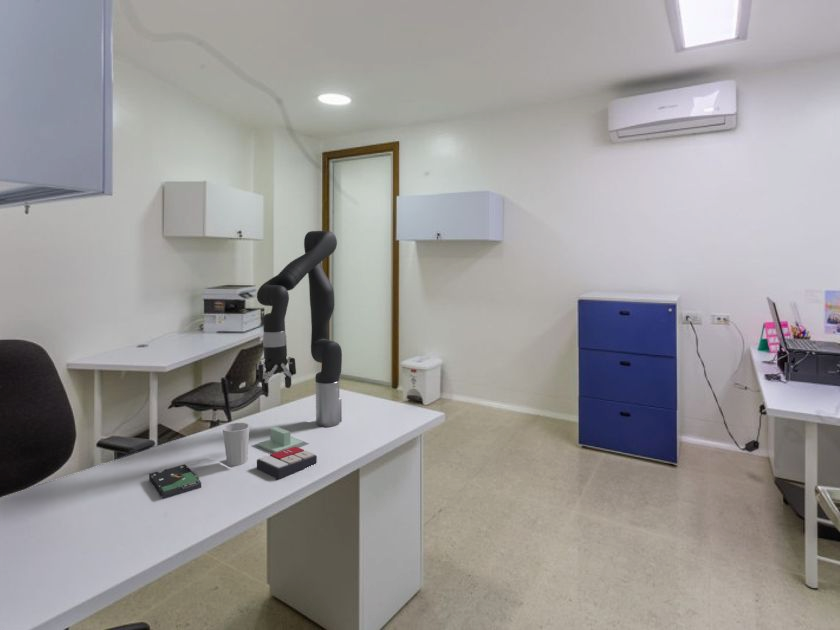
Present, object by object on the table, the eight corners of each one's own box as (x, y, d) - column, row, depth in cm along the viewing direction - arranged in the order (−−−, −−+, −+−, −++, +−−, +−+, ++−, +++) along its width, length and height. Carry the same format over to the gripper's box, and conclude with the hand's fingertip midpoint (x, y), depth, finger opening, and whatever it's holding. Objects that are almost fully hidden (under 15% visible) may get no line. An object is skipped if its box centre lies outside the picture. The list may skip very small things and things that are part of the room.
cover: (284, 436, 176) (283, 422, 175) (303, 443, 169) (302, 429, 169) (257, 445, 167) (256, 430, 167) (276, 453, 161) (276, 438, 160)
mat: (284, 435, 178) (284, 434, 178) (309, 445, 169) (309, 443, 169) (251, 447, 167) (251, 445, 167) (275, 457, 159) (275, 456, 159)
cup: (218, 465, 153) (216, 428, 151) (238, 456, 160) (237, 421, 158) (236, 470, 149) (234, 433, 148) (256, 460, 156) (254, 425, 155)
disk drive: (148, 482, 142) (163, 501, 131) (147, 473, 142) (162, 491, 131) (185, 472, 149) (202, 488, 138) (185, 463, 149) (202, 479, 138)
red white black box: (317, 453, 154) (277, 466, 143) (317, 466, 155) (277, 481, 143) (295, 445, 161) (256, 457, 149) (295, 457, 161) (255, 470, 150)
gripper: (286, 339, 171) (288, 384, 173) (249, 345, 160) (252, 393, 163) (299, 342, 166) (301, 387, 168) (262, 348, 156) (264, 397, 158)
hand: (277, 390), depth 166 cm, fingers open, 8 cm apart
